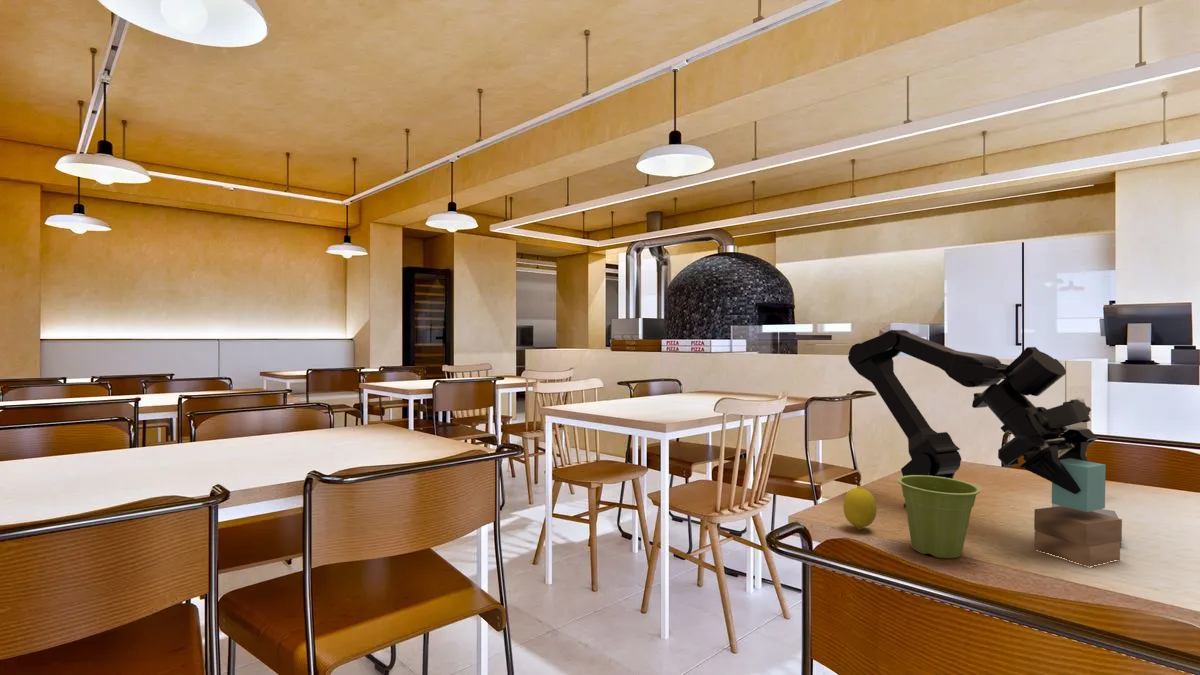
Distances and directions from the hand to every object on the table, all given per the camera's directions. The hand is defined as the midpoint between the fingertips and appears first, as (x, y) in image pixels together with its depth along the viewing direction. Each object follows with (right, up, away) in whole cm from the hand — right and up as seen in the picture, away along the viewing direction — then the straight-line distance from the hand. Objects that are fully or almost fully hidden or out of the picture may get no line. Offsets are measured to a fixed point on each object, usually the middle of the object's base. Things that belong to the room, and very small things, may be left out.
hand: (1087, 490), depth 95 cm
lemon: (-31, -11, +14) cm, 35 cm away
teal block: (-1, -3, +1) cm, 3 cm away
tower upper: (0, -8, +2) cm, 8 cm away
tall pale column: (+27, -11, +36) cm, 47 cm away
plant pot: (-22, -11, +3) cm, 25 cm away
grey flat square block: (+9, -11, +11) cm, 18 cm away
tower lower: (-1, -11, +2) cm, 11 cm away
